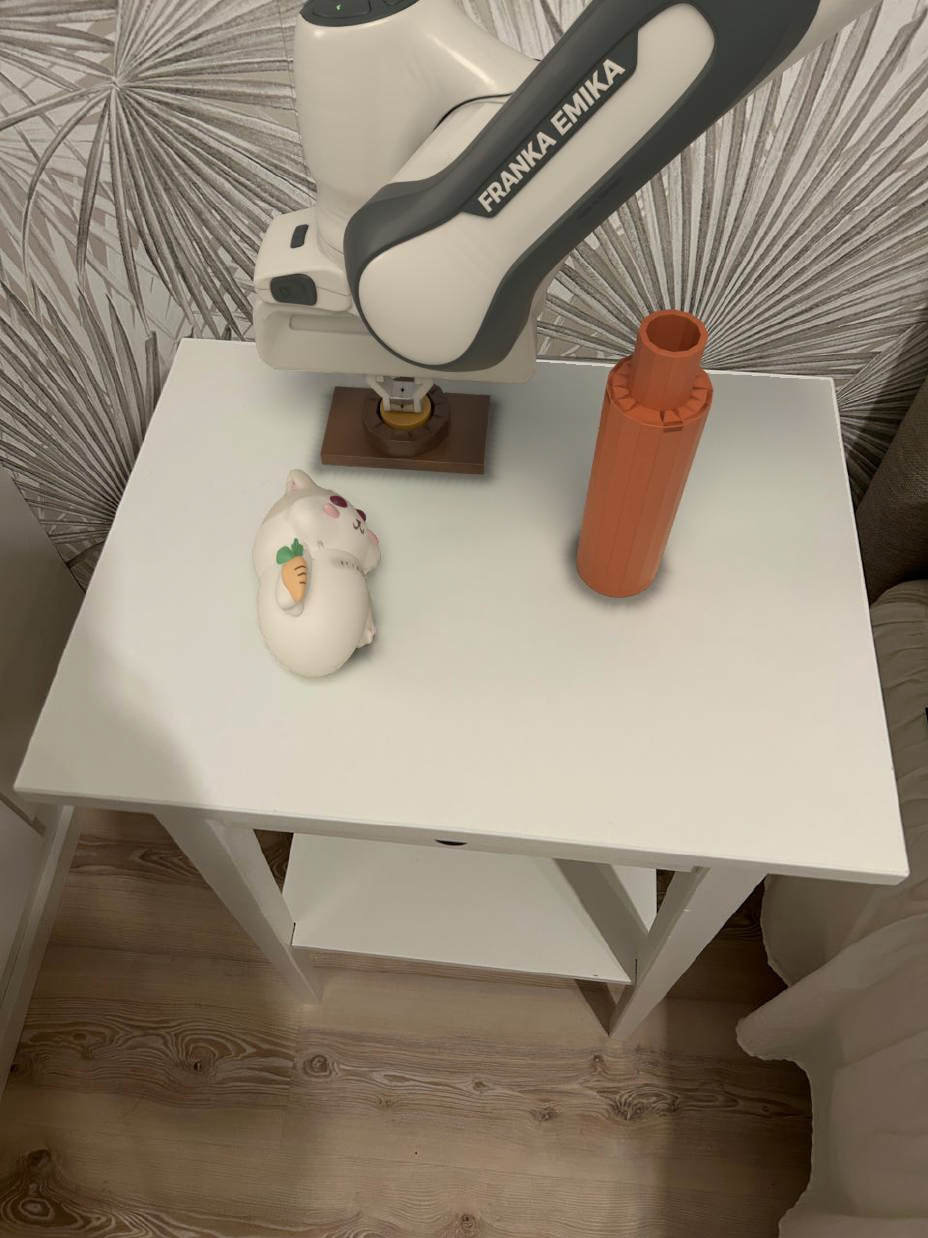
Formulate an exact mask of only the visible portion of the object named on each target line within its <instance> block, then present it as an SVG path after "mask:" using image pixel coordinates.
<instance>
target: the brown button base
mask: <svg viewBox="0 0 928 1238" xmlns="http://www.w3.org/2000/svg"><path fill="white" fill-rule="evenodd" d="M392 379H393V380H394V381H402V382H414V377H399V376H396V377H393V378H392ZM425 395H426V396H427V397H428V398H429V400H430V403H431V417H432V418H431V419H430V420H429V421H428V422H427V423H426V424H425V425H424V426H421V427H418V428H416V429H413V430H410V431H406V430H394V429H392V428H390V427H388V426H386V425H385V424H383V423H382V419H381V412H380V404H381V402H382V400H383V397H380V395H379V394H378V393H377V392H376V391H375V390H374V389H373V388H372V387H361V386H359V387H358V386H340V385H335V386H334V389H333V394H332V398H331V403H330V408H329V412H328V416H327V421H326V426H325V431H324V435H323V440H322V443H321V449H320V454H319V456H320V460H321V464H322V465H323V466H325V465H326V466H341V467H342V466H343V467H357V468H373V469H377V468H378V469H389V470H407V471H423V472H439V473H454V474H455V473H456V474H470V475H471V474H472V475H484V474H485V465H486V457H487V456H486V455H487V444H488V436H489V424H490V415H491V400H492V396H491V395H490V394H482V393H481V394H480V393H463V392H444V390H443V388H441V386H440V385H437V384H435V383H434V382H433V386H432V387H431V388H430V390H429V391H428V392H427V393H426V394H425Z"/></svg>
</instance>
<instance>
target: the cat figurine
mask: <svg viewBox="0 0 928 1238" xmlns="http://www.w3.org/2000/svg"><path fill="white" fill-rule="evenodd" d="M366 522H367V515H366V513H365V512H364V510H361V509H358V508H356V507H355V506H354V505H353V504H352V503H351V502H350V501H349V500H348V499H347V498H345V497H344V496H343V495H341V494H339V493H337V492H335V491H334V490H332V489H327V488H323V487H321V486H319V484H317V483H316V482H315V481H314V480H313V479H312V478H311V476H310V475H309V474H308V473H306V472H305V471H304V470H302V469H299V468H294V469H291V470H290V471H289V472H288V474H287V477H286V484H285V492H284V495H283V496H281V497H280V498H279V499H278V500H277V501H276V502H275V503H274V504H273V505H272V506H271V508H270V509H268V512H267V514H265V517H264V518H263V520H262V522H261V524H260V526H259V528H258V530H257V533H256V534H255V538H254V540H253V544H252V550H251V560H252V561H251V562H252V567H253V570H254V572H255V575H256V578H257V581H258V582H259V583H258V588H257V594H256V595H257V597H256V613H257V621H258V626H259V629H260V632H261V636H262V639H263V640H264V642H265V644H266V646H267V648H268V650H269V651H270V652H271V654H272V655H273V657H274V658H275V659H276V661H278V662H279V663H280V664H281V665H282V666H283V667H285V669H287V670H289V671H290V672H292V673H294V674H296V675H299V676H301V677H305V678H322V677H326V676H328V675H330V674H333V673H334V672H336V671H337V670H338V669H340V668H341V667H342V666H343V665H344V664H346V662H348V660H349V659H350V657H351V656H352V655H353V654H354V652H355V650H356V649H357V648H358V649H361V648H363V647H364V646H365V645H369V644H372V643H373V640H374V636H375V635H377V632H378V628H377V627H376V625H375V624H374V619H373V606H372V599H371V598H372V597H371V595H370V590H369V588H368V583H367V578H369V577H368V576H366V575H367V574H368V573H370V572H372V571H373V570H374V569H376V568H377V567H378V565H379V563H380V561H381V556H382V555H381V549H380V547H379V539H378V537H377V535H376V534H375V533H374V532H373V531H372V530H370V529H369V528H368V526H367V524H366Z"/></svg>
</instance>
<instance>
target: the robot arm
mask: <svg viewBox="0 0 928 1238" xmlns="http://www.w3.org/2000/svg"><path fill="white" fill-rule="evenodd" d="M882 1H883V0H588V1H587V2H586V3H585V5H584V6H583V8H582V9H581V10H580V12H579V14H578V15H577V16H576V18H575V19H574V20H573V21H572V22H571V24H570V25H569V27H568V28H567V29H566V30H565V32H563V34H562V35H561V37H559V38H558V40H557V41H556V42H555V44H553V46H552V47H551V48H550V50H549V51H548V52H547V53H546V54H545V55H543V58H542V59H540V58H532V57H530V56H529V55H527V54H524V53H523V52H520V51H519V50H518V49H515V48H513V47H512V46H510V45H508V44H507V43H505V42H503V41H502V40H500V39H499V38H497V37H496V36H494V35H493V34H491V33H490V32H488V31H487V30H485V28H483V27H482V26H480V25H479V24H477V23H476V21H474V20H473V19H472V18H471V17H470V16H468V15H467V14H466V13H465V12H464V11H463V10H462V8H461V7H460V6H459V5H458V3H457V2H456V0H306V2H305V3H304V4H303V6H302V7H301V9H300V10H299V11H298V13H297V17H296V20H295V26H294V35H293V46H292V51H293V52H292V59H293V60H292V62H293V64H292V65H293V80H294V81H293V82H294V91H295V102H296V108H297V109H296V111H297V118H298V125H299V131H300V138H301V145H302V149H303V154H304V160H305V163H306V166H307V168H308V171H309V172H310V174H311V176H312V178H313V180H314V183H315V187H316V194H317V195H316V201H315V205H314V206H310V207H306V208H303V209H299V210H296V211H295V210H294V211H291V212H287V213H283V214H280V215H277V216H275V217H273V219H272V220H271V222H270V223H269V224H268V227H267V229H266V231H265V233H264V236H263V238H262V241H261V243H260V246H259V249H258V252H257V256H256V260H255V265H254V272H253V288H254V291H255V293H256V298H255V301H254V304H253V308H252V327H253V328H252V329H253V335H254V341H255V346H256V350H257V354H258V357H259V359H260V360H261V361H262V362H263V363H265V364H266V365H267V366H268V367H270V368H272V369H273V370H277V371H294V372H295V371H297V372H311V373H312V372H313V373H330V374H348V375H349V374H350V375H364V378H365V383H366V384H367V385H369V386H370V388H373V389H374V390H375V391H376V392H377V393H378V394H379V395H380V397H383V405H384V411H395V412H411V413H421V412H422V405H423V397H424V396H425V394H426V393H427V392H428V391H429V390H430V388H431V387H432V386H433V383H434V381H435V380H450V381H451V380H452V381H467V382H469V381H471V382H486V383H487V382H488V383H505V384H524V383H526V382H527V381H528V380H529V379H530V378H532V376H534V375H535V373H536V368H537V358H538V357H537V356H538V318H539V317H540V316H541V315H542V313H543V312H544V310H545V308H546V307H547V297H548V289H549V287H550V285H551V284H552V283H553V281H554V280H555V278H556V277H557V275H558V274H559V272H560V271H561V269H562V268H563V266H564V265H565V263H566V262H567V260H568V259H569V258H570V256H571V255H572V253H573V251H574V250H575V248H576V247H578V246H579V245H580V244H582V242H583V241H584V240H585V239H586V238H587V237H589V236H590V235H591V234H592V233H593V232H594V231H595V230H597V228H599V227H600V226H601V225H602V224H603V223H604V222H606V220H608V219H609V218H610V217H611V216H612V215H613V214H615V212H617V211H618V210H619V209H620V208H621V207H622V206H623V205H624V204H625V203H627V202H628V201H629V200H630V199H631V198H632V197H634V195H636V193H637V192H639V191H640V190H641V189H642V188H643V187H644V186H646V185H647V184H648V183H649V182H650V181H651V180H652V179H653V178H654V177H655V176H656V175H657V174H659V173H660V172H661V171H662V170H663V169H665V167H667V166H668V165H669V164H670V163H671V162H672V161H674V160H675V159H676V158H677V157H678V156H680V155H681V153H683V152H684V151H685V150H686V149H687V148H688V147H690V146H691V145H692V144H693V143H694V142H696V140H698V139H699V138H700V137H701V136H702V135H703V134H705V132H707V131H708V130H709V129H710V128H711V127H713V125H715V124H716V123H717V122H718V121H719V120H720V119H722V117H724V116H725V115H727V114H728V113H729V112H731V111H732V110H733V109H734V108H736V107H737V106H738V105H740V104H741V103H743V102H744V101H746V100H747V99H748V98H750V97H751V96H752V95H754V94H755V93H756V92H758V91H760V90H761V89H762V88H763V87H765V86H766V85H768V84H769V83H771V82H772V81H773V80H775V79H776V78H777V77H779V76H780V75H781V74H783V73H785V72H786V71H787V70H789V69H790V68H791V67H792V66H794V65H795V64H797V63H798V62H799V61H801V60H802V59H804V58H805V57H806V56H807V55H809V54H810V53H812V52H813V51H814V50H816V49H818V47H820V46H821V45H822V44H824V43H825V42H827V41H828V40H829V39H830V38H832V37H833V36H835V35H837V33H839V32H840V31H841V30H843V29H845V28H846V27H847V26H849V25H850V24H851V23H853V22H854V21H855V20H857V19H859V18H860V17H861V16H863V15H864V14H865V13H867V12H868V11H869V10H871V9H872V8H874V7H876V6H877V5H878V4H880V3H881V2H882ZM393 377H414V382H402V381H394V380H393V379H394V378H393Z"/></svg>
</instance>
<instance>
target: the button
mask: <svg viewBox="0 0 928 1238" xmlns="http://www.w3.org/2000/svg"><path fill="white" fill-rule="evenodd" d="M380 412H381V419H382V423H383V424H385V425H386V426H388V427H390V428H392V429H394V430H406V431H410V430H413V429H416V428H418V427H421V426H424V425H425V424H426V423H427V422H428V421H429V420H430V419H431V418H432V417H431V403H430V400H429V398H428V397H427V396H426V395H425V396H424V397H423V405H422V412H421V413H411V412H395V411H384V405H383V400H382V402H381V404H380Z"/></svg>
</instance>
